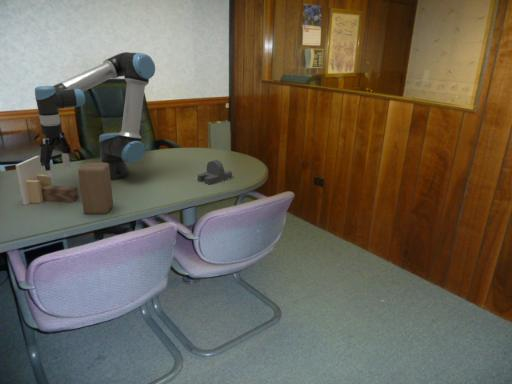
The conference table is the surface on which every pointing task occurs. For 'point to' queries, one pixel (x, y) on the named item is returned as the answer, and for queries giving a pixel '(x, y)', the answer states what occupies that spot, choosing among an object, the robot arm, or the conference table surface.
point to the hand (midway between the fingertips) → (59, 172)
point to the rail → (59, 193)
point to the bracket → (214, 173)
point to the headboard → (31, 180)
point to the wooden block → (95, 188)
